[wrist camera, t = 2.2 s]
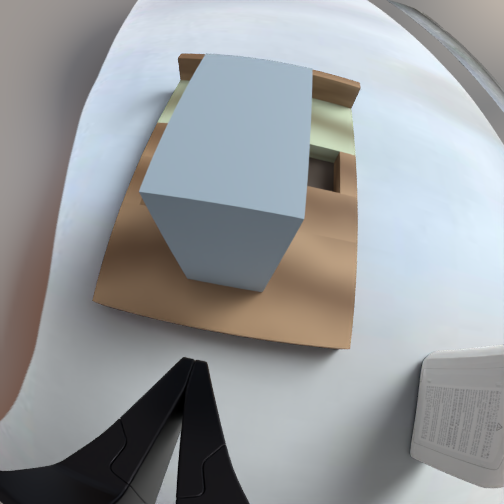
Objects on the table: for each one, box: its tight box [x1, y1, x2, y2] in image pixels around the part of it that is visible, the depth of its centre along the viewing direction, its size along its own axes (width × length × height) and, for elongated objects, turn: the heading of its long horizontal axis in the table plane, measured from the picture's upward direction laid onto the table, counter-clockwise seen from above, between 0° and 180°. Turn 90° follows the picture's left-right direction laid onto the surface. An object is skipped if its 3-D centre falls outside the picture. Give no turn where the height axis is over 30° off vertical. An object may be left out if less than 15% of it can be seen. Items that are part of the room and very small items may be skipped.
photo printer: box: [410, 345, 504, 488], centre depth 12 cm, size 10×4×12 cm, turn 175°
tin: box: [139, 54, 312, 292], centre depth 15 cm, size 8×5×11 cm, turn 171°
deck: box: [92, 54, 360, 349], centre depth 21 cm, size 24×18×5 cm
